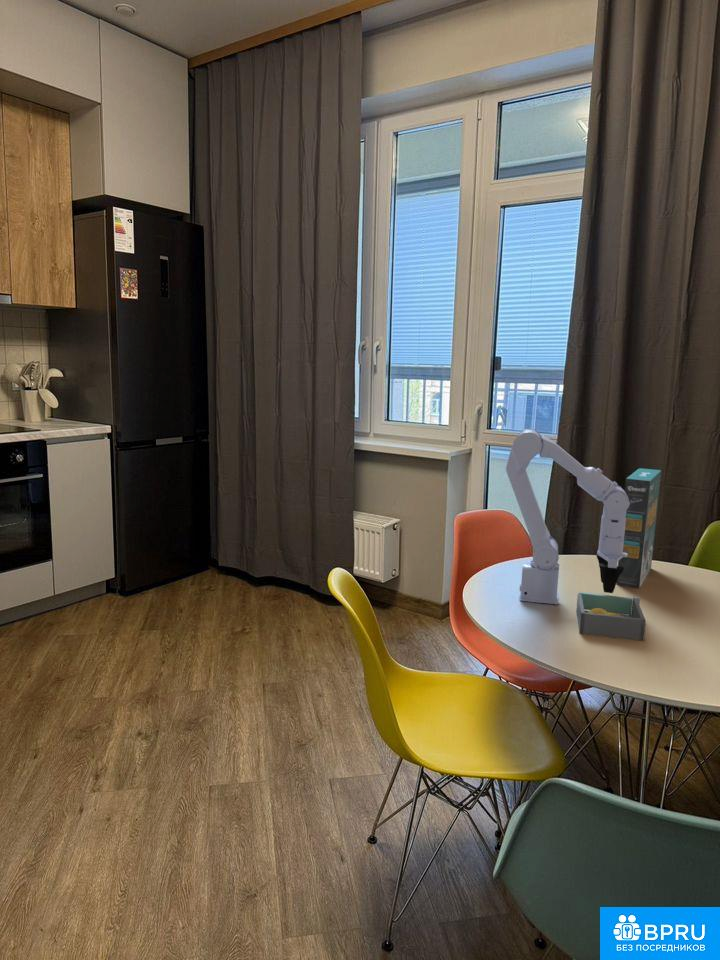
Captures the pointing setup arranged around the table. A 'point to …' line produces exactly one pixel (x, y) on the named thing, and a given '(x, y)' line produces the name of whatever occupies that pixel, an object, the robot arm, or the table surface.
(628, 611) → the teal flat bar
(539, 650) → the table surface
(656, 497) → the cake mix box
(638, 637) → the grey open box
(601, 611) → the bread roll
